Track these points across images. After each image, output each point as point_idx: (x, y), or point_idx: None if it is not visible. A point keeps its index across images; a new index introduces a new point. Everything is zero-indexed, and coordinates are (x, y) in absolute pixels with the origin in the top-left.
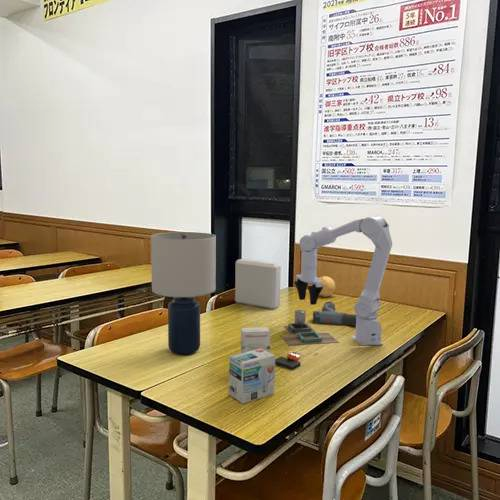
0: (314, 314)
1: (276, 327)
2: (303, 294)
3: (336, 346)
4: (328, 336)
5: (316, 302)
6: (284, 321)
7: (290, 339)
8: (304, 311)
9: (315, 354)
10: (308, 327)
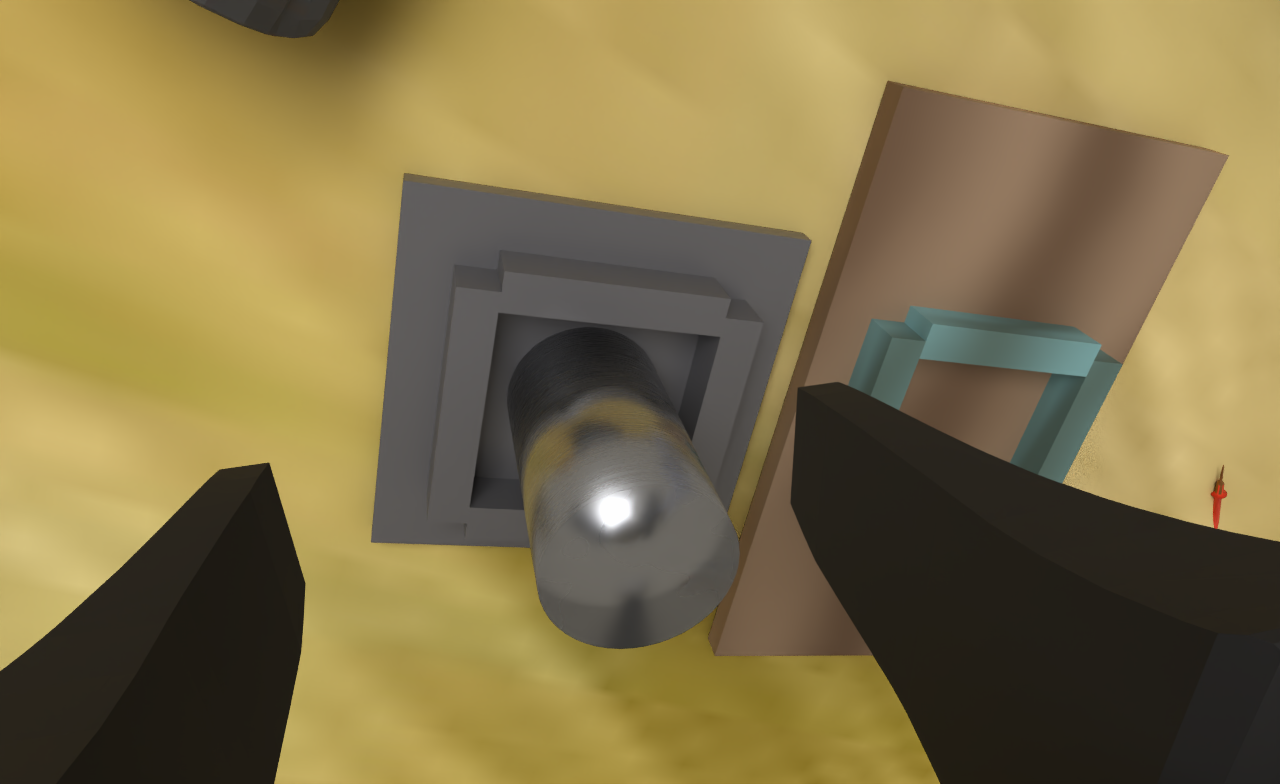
0: (269, 4)
1: (342, 593)
2: (247, 612)
3: (1227, 215)
4: (1021, 174)
5: (869, 398)
6: (47, 418)
7: None
8: (678, 507)
9: (1219, 503)
10: (702, 334)
